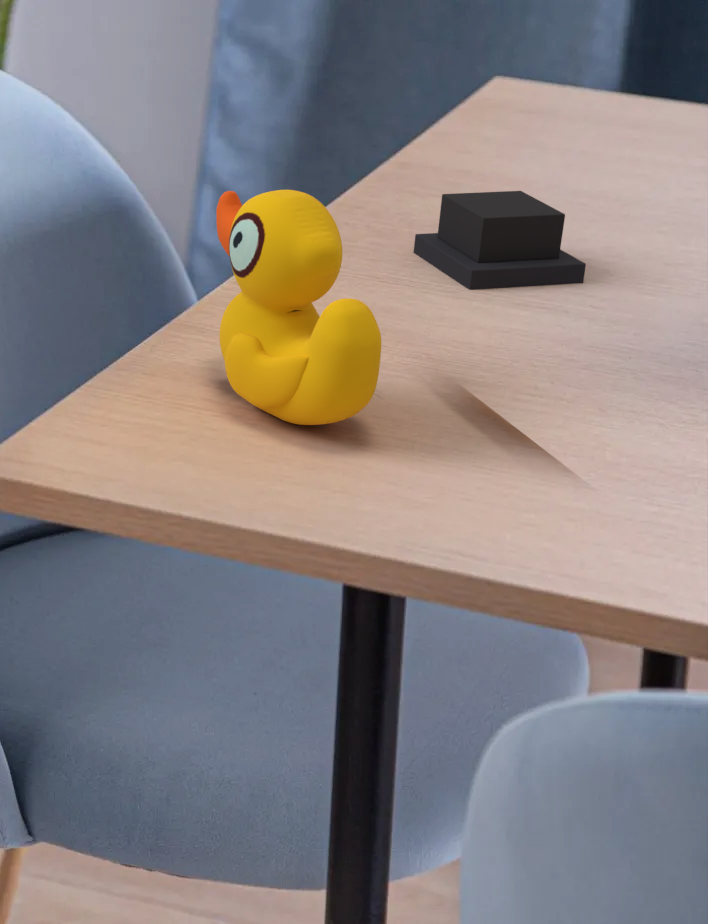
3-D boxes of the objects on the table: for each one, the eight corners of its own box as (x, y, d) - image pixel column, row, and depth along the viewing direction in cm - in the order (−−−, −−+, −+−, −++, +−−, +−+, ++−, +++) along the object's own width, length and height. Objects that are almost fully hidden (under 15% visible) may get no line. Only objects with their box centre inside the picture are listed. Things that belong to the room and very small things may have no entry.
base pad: (518, 269, 103) (524, 228, 102) (579, 307, 97) (586, 263, 96) (410, 276, 101) (414, 233, 100) (466, 314, 95) (472, 270, 94)
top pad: (515, 233, 101) (521, 190, 100) (559, 258, 97) (565, 214, 96) (436, 237, 100) (441, 193, 99) (478, 263, 95) (483, 217, 94)
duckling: (165, 378, 84) (175, 171, 80) (257, 362, 87) (272, 161, 83) (305, 464, 76) (325, 237, 71) (403, 443, 78) (428, 223, 74)
